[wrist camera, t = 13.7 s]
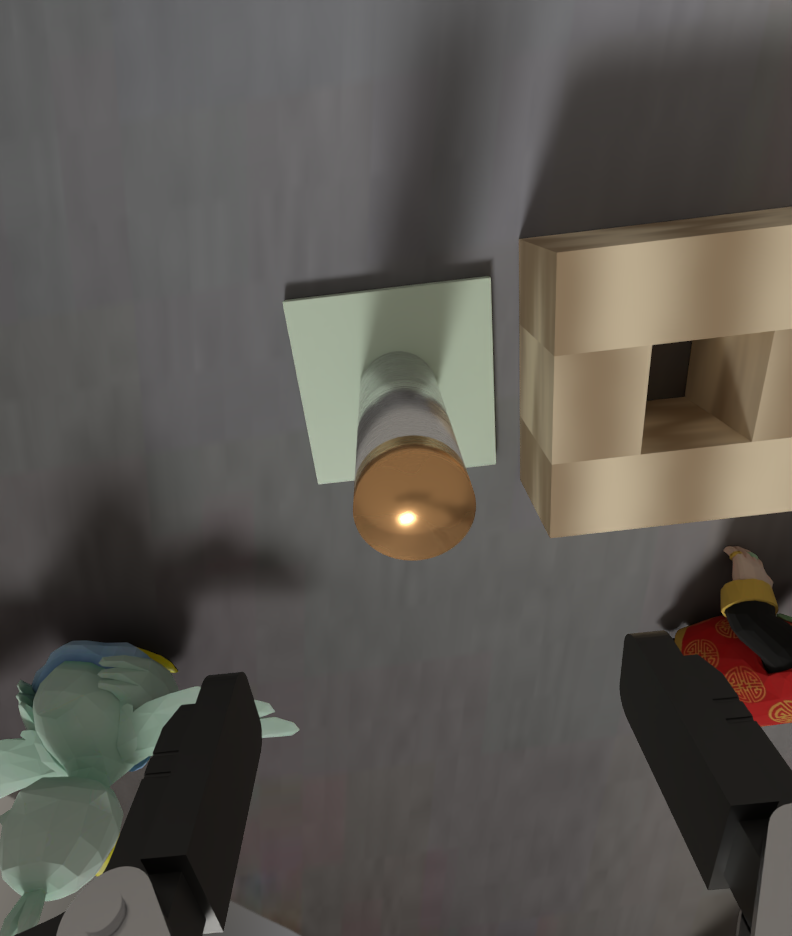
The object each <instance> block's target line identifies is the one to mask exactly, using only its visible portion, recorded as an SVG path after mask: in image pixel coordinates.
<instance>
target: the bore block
mask: <svg viewBox="0 0 792 936" xmlns="http://www.w3.org/2000/svg"><path fill="white" fill-rule="evenodd" d="M519 333H520V480H521V482H522V484H523V486H524V488H525V490H526V492H527V494H528V496H529V498H530V500H531V502H532V504H533V505H534V507H535V509H536V511H537V513H538V515H539V517H540V519H541V521H542V523H543V525H544V527H545V529H546V531H547V533H548V535H549V537H550V538H556V537H565V536H574V535H582V534H591V533H600V532H609V531H618V530H627V529H636V528H645V527H654V526H663V525H672V524H681V523H690V522H698V521H707V520H716V519H725V518H734V517H743V516H752V515H761V514H770V513H779V512H788V511H792V207H783V208H775V209H767V210H758V211H750V212H742V213H733V214H725V215H716V216H708V217H700V218H691V219H683V220H674V221H666V222H658V223H649V224H641V225H633V226H624V227H616V228H607V229H599V230H591V231H582V232H574V233H565V234H557V235H549V236H540V237H532V238H524V239H519ZM691 340H692V347H691V354H690V361H689V368H688V376H687V383H686V390H685V397H677V398H668V399H659V400H651V401H646V399H647V389H648V380H649V370H650V361H651V351H652V345H656V344H665V343H674V342H682V341H691Z"/></svg>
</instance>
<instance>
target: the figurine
mask: <svg viewBox="0 0 792 936" xmlns="http://www.w3.org/2000/svg"><path fill="white" fill-rule="evenodd" d="M723 551H724V552H725V553H726V554H728V555H729V556H730V560H732V561H733V571H732V578H733V581H731V582H728V583H726V584H725V585H724V586H723V588H722V589H721V612H722V614H723V615H724V616H717V617H713V618H710V619H707V620H704V621H701V622H699V623H696V624H693V625H690V626H687V627H684V628H682V629H680V630H678V631H677V633H676V635H675V638H672V639H673V640H674V642H675V643H676V645H677V646H678V648H679V649H680V651H681V652H682V654H683V656H685V655H695V654H698V655H699V656H701V657H702V658H703V659H704V660H706V661H707V662H708V663H710V664H711V665H712V666H714V667H715V668H716V669H717V670H719V671H720V672H721V673H722V674H723V675H724V676H725V678H726V679H727V681H728V682H729V683H730V685H731V686H732V688H733V689H734V690H735V692H736V693H737V695H738V696H739V700H740V701H742V702H743V703H744V704H745V706H746V707H747V709H748V710H749V711H750V713H751V714H752V716H753V720H754V721H757V723H758V724H759V725H760V727H762V726H769V725H777V724H784V723H792V617H790V616H787V615H783V614H777V616H776V613H777V612H778V605H777V602H776V599H775V596H774V593H773V590H772V586H773V581H772V580H771V578H770V577H769V576H768V575H767V574H766V572H765V570H764V568H763V564H762V561H761V560H759V559H758V557H757V555H755V554H754V553H752V552H750V551H749V550H747V549H743V548H741V547H740V546H733V547H732V546H728V547H725V549H724V550H723Z"/></svg>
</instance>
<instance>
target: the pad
mask: <svg viewBox="0 0 792 936" xmlns="http://www.w3.org/2000/svg"><path fill="white" fill-rule="evenodd" d="M283 307H284V312H285V317H286V322H287V328H288V333H289V338H290V343H291V348H292V353H293V358H294V363H295V368H296V373H297V379H298V384H299V389H300V394H301V399H302V404H303V409H304V414H305V419H306V424H307V429H308V435H309V440H310V445H311V450H312V455H313V460H314V465H315V470H316V475H317V480H318V484H326V483H335V482H343V481H352V480H355V465H356V447H357V429H358V410H359V392H360V382H361V378H362V375H363V373H364V371H365V369H366V368H367V366H368V365H369V364H370V363H371V362H372V361H373V360H375V359H376V358H378V357H379V356H381V355H383V354H386V353H389V352H396V351H401V352H408V353H412V354H414V355H416V356H418V357H420V358H421V359H423V360H424V361H425V362H426V363H427V364H428V365H429V366H430V368H431V369H432V371H433V373H434V375H435V378H436V381H437V384H438V387H439V390H440V393H441V396H442V399H443V402H444V405H445V408H446V411H447V414H448V417H449V420H450V423H451V426H452V429H453V432H454V434H455V437H456V440H457V443H458V446H459V449H460V452H461V455H462V458H463V461H464V464H465V467H475V466H484V465H493V464H496V448H495V412H494V376H493V340H492V304H491V277H489V276H483V277H474V278H466V279H458V280H449V281H441V282H432V283H424V284H415V285H407V286H398V287H390V288H382V289H373V290H365V291H356V292H348V293H339V294H331V295H322V296H314V297H306V298H297V299H289V300H284V301H283Z"/></svg>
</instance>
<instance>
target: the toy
mask: <svg viewBox="0 0 792 936" xmlns="http://www.w3.org/2000/svg"><path fill="white" fill-rule="evenodd" d="M171 672H175V673H176V672H178V670H177V669H176V668H175V667H174V665H173V664H172V663H171V662H170V661H168V660H167V659H165V658H164V657H162V656H161V655H158V654H155V653H152V652H150V651H147V650H144V649H141V648H138V647H135V646H133V645H131V644H130V643H128V642H122V643H103V642H95V641H87V640H81V641H71V642H69V643H67V644H64V645H63V646H61V647H60V648H58V649H56V650H55V651H53V652H52V653H51V654H50V656H49V658H48V660H47V663H46V665H44V666H43V667H42V668H40V669H39V670H38V671H37V672H36V674H35V677H34V680H33V683H32V685H30V684H28V683H26V682H24V681H22V680H20V681H19V683H18V685H17V687H18V689H19V691H20V692H19V693H18V694H17V695H16V698H17V699H18V701H19V710H20V714H21V717H22V720H23V722H24V725H25V727H26V731H22V733H21V735H20V736H21V737H23V738H20V739H5V740H0V798H2V797H4V796H6V795H8V794H10V793H13V792H15V791H17V790H20V789H23V788H24V789H23V790H21V791H20V792H19V793H18V795H17V798H16V800H15V802H14V804H13V806H12V808H11V810H9V811H7V812H6V813H4V814H3V815H1V816H0V823H1V824H2V833H1V839H0V869H1V874H2V879H3V880H4V881H5V882H6V883H7V884H8V885H9V886H10V887H11V888H12V889H13V890H14V891H15V892H17V893H19V894H20V895H21V896H22V897H21V898H20V900H19V901H18V902H17V904H16V905H15V906H14V908H13V909H12V910H11V912H10V913H9V914H8V916H7V917H6V918H5V920H4V923H3V926H2V929H1V931H0V936H14V935H15V934H16V933H17V934H19V933H21V932H23V931H25V930H28V929H30V928H32V927H35V926H36V925H37V924H38V922H39V920H40V916H41V912H42V909H43V905H44V901H51V900H56V899H61V898H63V897H65V896H68V895H70V894H72V893H75V892H76V891H77V890H79V889H80V888H81V887H83V886H84V885H85V884H86V883H87V882H89V881H90V880H91V879H92V878H93V877H94V875H96V876H97V877H98V876H100V875H101V874H103V872H104V870H105V869H106V867H107V865H108V862H109V860H110V858H111V856H112V853H113V851H114V848H115V846H116V843H117V841H118V838H119V836H120V828H121V823H122V818H123V811H122V809H121V806H120V803H119V801H118V799H117V797H116V795H115V793H114V791H113V790H112V789H110V786H111V785H112V784H113V783H114V782H116V781H117V780H118V779H119V778H120V777H122V776H123V775H124V774H125V773H127V772H128V771H135V770H138V769H140V768H143V766H144V765H145V764H146V763H147V761H148V760H149V758H150V757H151V756H153V751H154V748H155V746H156V743H157V741H158V738H159V736H160V733H161V731H162V728H163V727H164V725H165V724H166V723H167V722H168V720H169V719H170V718H171V717H172V716H173V714H174V713H175V712H176V711H177V709H178V708H179V707H180V706H181V705H185V704H195V703H196V700H197V697H198V694H199V691H200V689H201V687H198V686H196V687H192V688H188V689H185V690H181V691H178V686H177V684H176V682H175V680H174V678H173V676H172V674H171ZM254 701H255V705H256V708H257V711H258V714H259V717H263V716H265V715H268V714H270V713H273V712H275V711H274V710H273V708H272V707H271V705H270V704H269V703H265V702H261V701H258V700H254ZM260 721H261V727H262V738H266V737H279V736H290V735H293V734H295V733H296V732H297V731H299V728H298V727H297V726H296V725H295V724H294V723H293V722H290V721H286V720H283V719H280V718H276V717H270V718H260ZM65 776H68V777H65ZM25 787H26V788H25Z"/></svg>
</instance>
